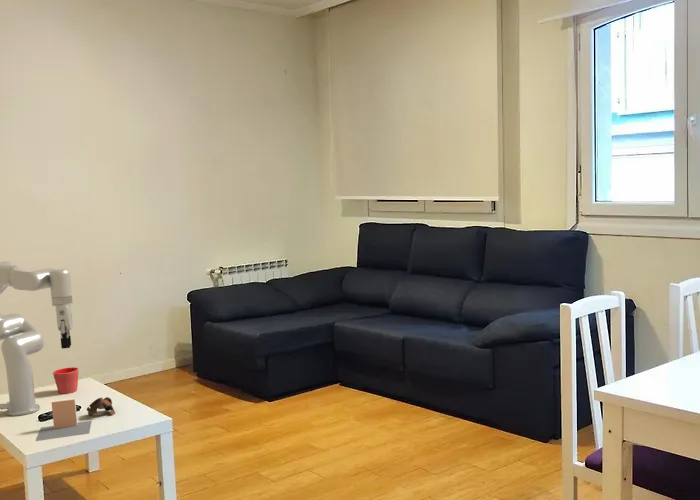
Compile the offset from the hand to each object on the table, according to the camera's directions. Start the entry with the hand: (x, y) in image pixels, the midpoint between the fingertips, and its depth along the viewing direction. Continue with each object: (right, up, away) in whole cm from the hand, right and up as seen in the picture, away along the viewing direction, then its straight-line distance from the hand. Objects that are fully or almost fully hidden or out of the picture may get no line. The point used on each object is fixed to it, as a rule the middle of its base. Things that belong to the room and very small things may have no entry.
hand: (66, 346), depth 292 cm
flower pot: (-14, -25, +37) cm, 47 cm away
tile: (+6, -28, -15) cm, 32 cm away
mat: (+7, -29, -20) cm, 36 cm away
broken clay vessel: (+15, -27, -2) cm, 31 cm away
